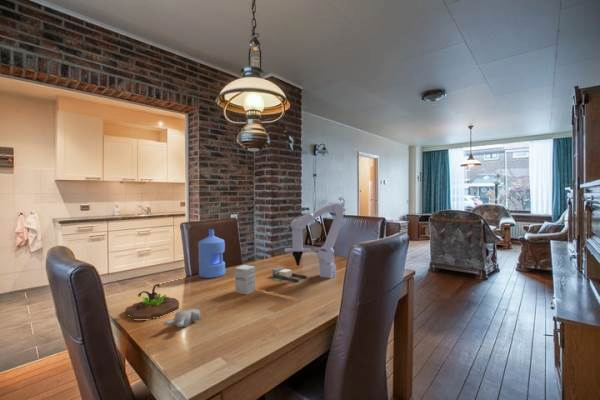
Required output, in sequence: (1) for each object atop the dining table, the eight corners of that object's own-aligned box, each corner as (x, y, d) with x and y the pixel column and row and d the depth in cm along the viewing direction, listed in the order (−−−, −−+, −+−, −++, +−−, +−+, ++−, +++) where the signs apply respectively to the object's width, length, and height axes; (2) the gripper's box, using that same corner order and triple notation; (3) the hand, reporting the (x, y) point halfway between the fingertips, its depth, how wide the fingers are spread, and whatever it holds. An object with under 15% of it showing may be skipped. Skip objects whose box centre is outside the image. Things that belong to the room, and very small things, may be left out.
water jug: (193, 277, 170) (192, 230, 169) (209, 270, 185) (208, 227, 184) (216, 279, 166) (214, 231, 165) (230, 272, 181) (229, 228, 180)
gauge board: (310, 280, 160) (310, 271, 160) (296, 287, 150) (296, 277, 149) (280, 274, 173) (280, 266, 173) (266, 280, 162) (265, 271, 162)
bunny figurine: (206, 307, 116) (183, 318, 101) (205, 320, 115) (182, 333, 101) (185, 305, 118) (160, 316, 103) (185, 318, 117) (159, 331, 103)
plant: (187, 309, 125) (187, 283, 124) (139, 325, 110) (138, 296, 109) (166, 298, 137) (165, 275, 137) (120, 312, 122) (120, 286, 122)
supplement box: (235, 292, 143) (234, 267, 142) (244, 288, 149) (243, 264, 149) (246, 295, 139) (246, 269, 139) (255, 290, 146) (255, 265, 146)
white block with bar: (291, 275, 165) (291, 269, 165) (280, 280, 157) (280, 274, 157) (285, 274, 168) (285, 268, 168) (273, 279, 160) (273, 272, 160)
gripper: (311, 239, 161) (311, 263, 162) (286, 239, 163) (286, 263, 164) (309, 241, 154) (310, 266, 155) (283, 241, 156) (284, 266, 157)
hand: (298, 265), depth 159 cm, fingers closed
